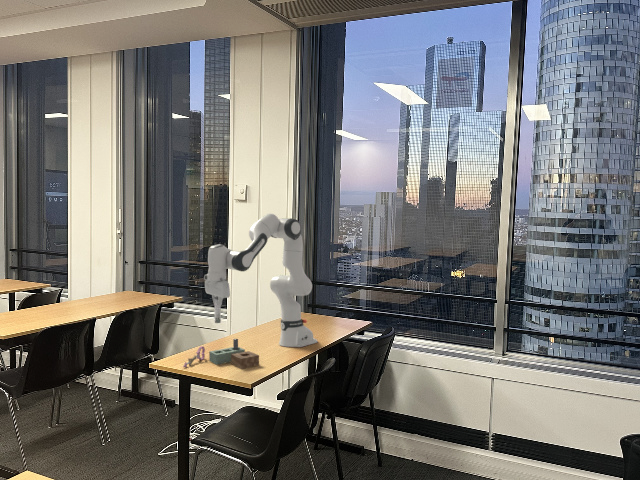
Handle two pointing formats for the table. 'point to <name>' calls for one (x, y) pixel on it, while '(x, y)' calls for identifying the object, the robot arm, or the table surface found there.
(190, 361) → the decorative key
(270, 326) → the table surface
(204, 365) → the table surface
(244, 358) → the socket block
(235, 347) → the dark grey peg
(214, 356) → the drill rack
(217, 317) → the metal cylinder rod
